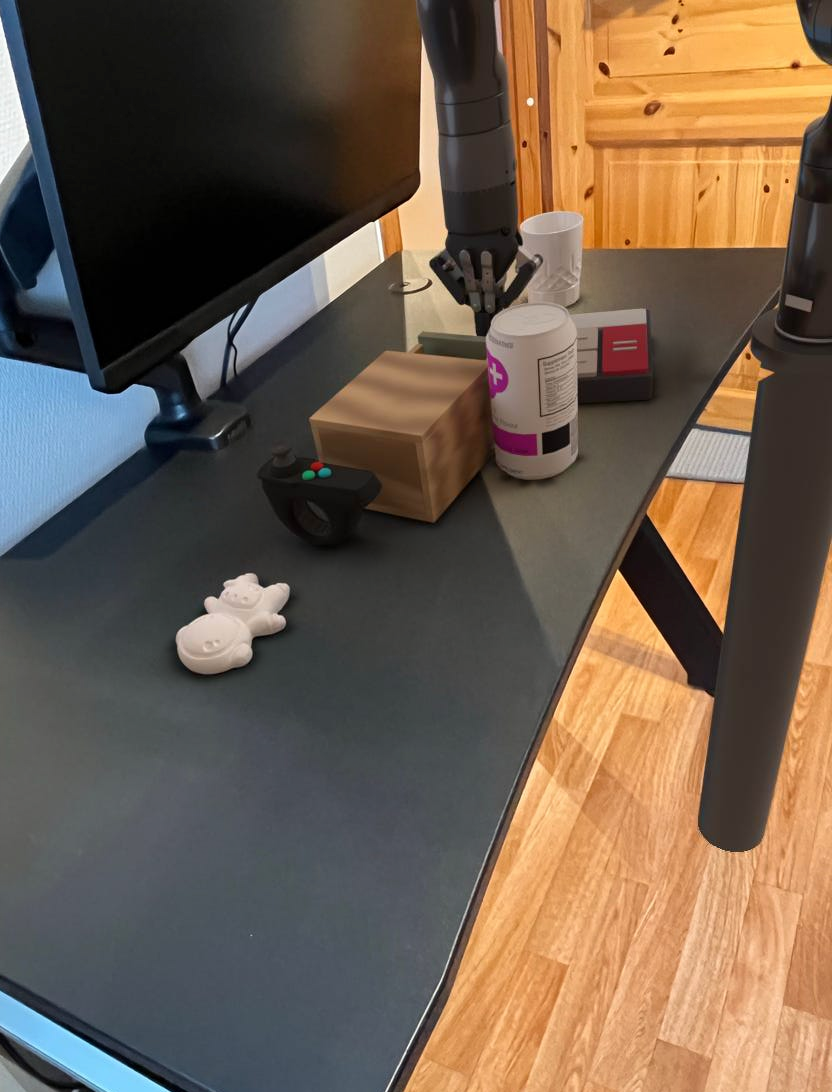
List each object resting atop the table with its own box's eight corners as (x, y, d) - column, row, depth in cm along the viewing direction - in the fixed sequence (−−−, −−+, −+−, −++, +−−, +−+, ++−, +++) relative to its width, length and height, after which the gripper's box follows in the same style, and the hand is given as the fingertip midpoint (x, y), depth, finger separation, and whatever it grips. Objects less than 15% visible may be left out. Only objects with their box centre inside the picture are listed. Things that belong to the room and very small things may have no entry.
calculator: (546, 376, 94) (553, 310, 104) (547, 410, 97) (554, 344, 107) (653, 368, 91) (650, 302, 101) (651, 404, 94) (648, 336, 104)
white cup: (556, 283, 121) (554, 207, 114) (596, 296, 115) (596, 217, 109) (511, 303, 119) (507, 227, 112) (550, 317, 113) (548, 238, 107)
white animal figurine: (314, 602, 79) (306, 576, 77) (223, 687, 73) (213, 661, 71) (245, 576, 83) (237, 551, 81) (155, 654, 77) (143, 629, 75)
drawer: (447, 378, 104) (440, 314, 99) (537, 388, 98) (534, 321, 93) (370, 455, 94) (358, 389, 89) (464, 471, 88) (457, 401, 83)
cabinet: (398, 430, 99) (385, 350, 92) (500, 445, 92) (493, 361, 86) (328, 500, 91) (308, 418, 84) (434, 523, 84) (421, 435, 78)
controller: (292, 517, 90) (269, 431, 83) (397, 538, 84) (380, 447, 77) (269, 542, 87) (243, 455, 80) (375, 565, 81) (356, 473, 75)
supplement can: (499, 488, 87) (487, 344, 77) (493, 445, 93) (481, 307, 83) (583, 477, 85) (582, 330, 75) (571, 434, 91) (569, 293, 82)
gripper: (402, 188, 88) (423, 350, 100) (522, 188, 82) (530, 361, 93) (438, 164, 93) (454, 322, 104) (555, 161, 86) (559, 330, 97)
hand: (490, 340), depth 99 cm, fingers closed
